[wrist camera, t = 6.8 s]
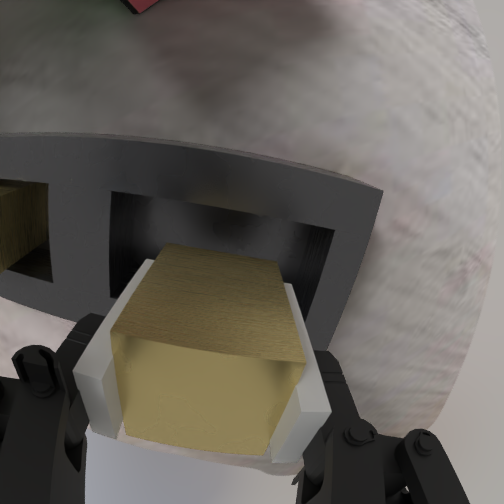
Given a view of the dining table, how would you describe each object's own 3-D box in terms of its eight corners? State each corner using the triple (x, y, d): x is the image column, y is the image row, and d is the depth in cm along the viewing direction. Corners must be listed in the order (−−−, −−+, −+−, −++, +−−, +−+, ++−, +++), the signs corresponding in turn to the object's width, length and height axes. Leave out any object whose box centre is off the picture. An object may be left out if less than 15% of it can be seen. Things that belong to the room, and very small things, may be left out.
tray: (-20, 135, 14) (-59, 142, 10) (348, 176, 18) (383, 190, 13) (-16, 252, 18) (-48, 275, 14) (305, 318, 22) (320, 362, 17)
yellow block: (166, 242, 11) (110, 331, 6) (276, 261, 12) (306, 362, 6) (160, 331, 13) (126, 434, 7) (254, 347, 13) (263, 455, 8)
